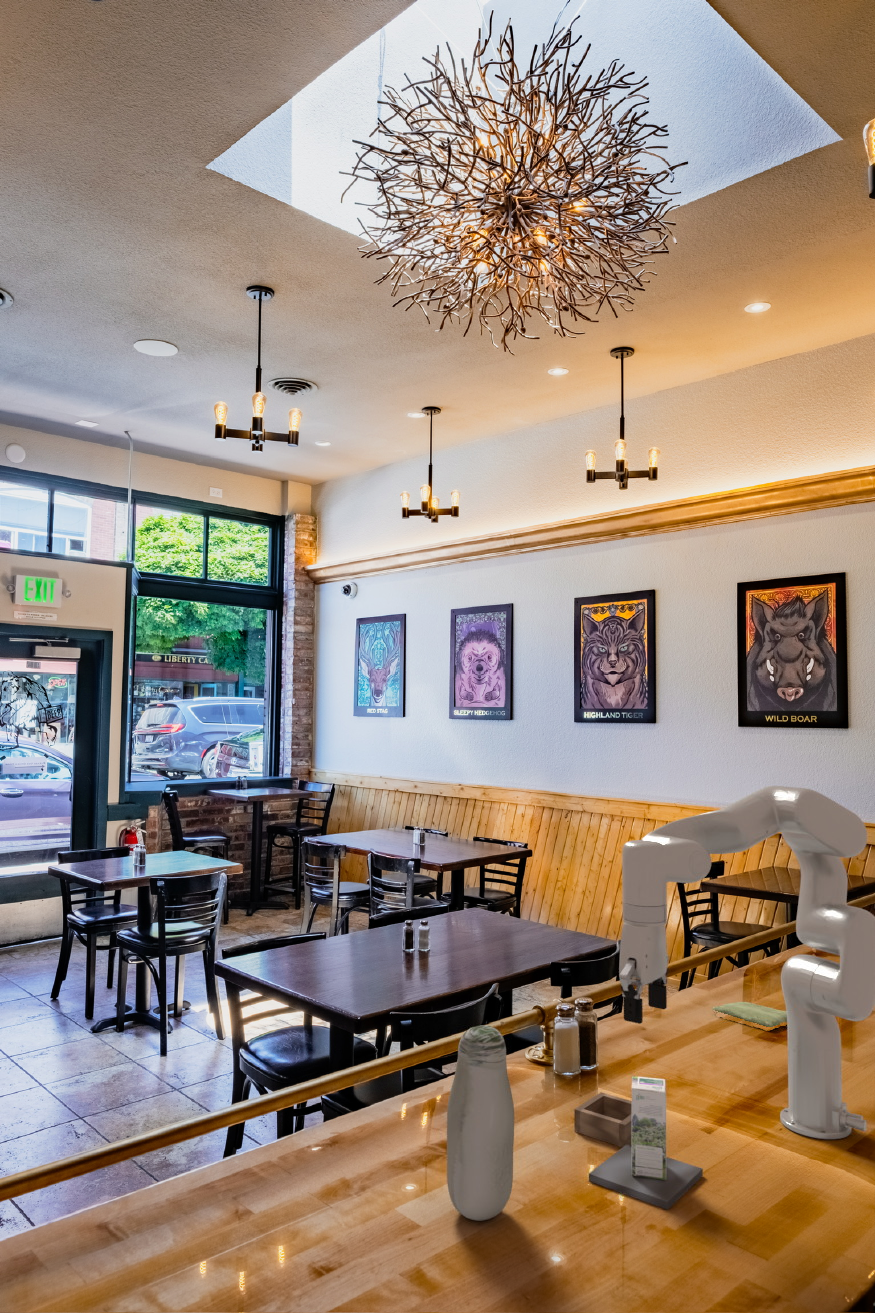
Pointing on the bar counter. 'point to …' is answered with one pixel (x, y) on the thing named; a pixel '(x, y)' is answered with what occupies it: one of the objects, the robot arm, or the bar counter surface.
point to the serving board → (646, 1179)
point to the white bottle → (480, 1126)
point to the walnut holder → (605, 1119)
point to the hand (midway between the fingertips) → (645, 1014)
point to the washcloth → (754, 1013)
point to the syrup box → (649, 1127)
